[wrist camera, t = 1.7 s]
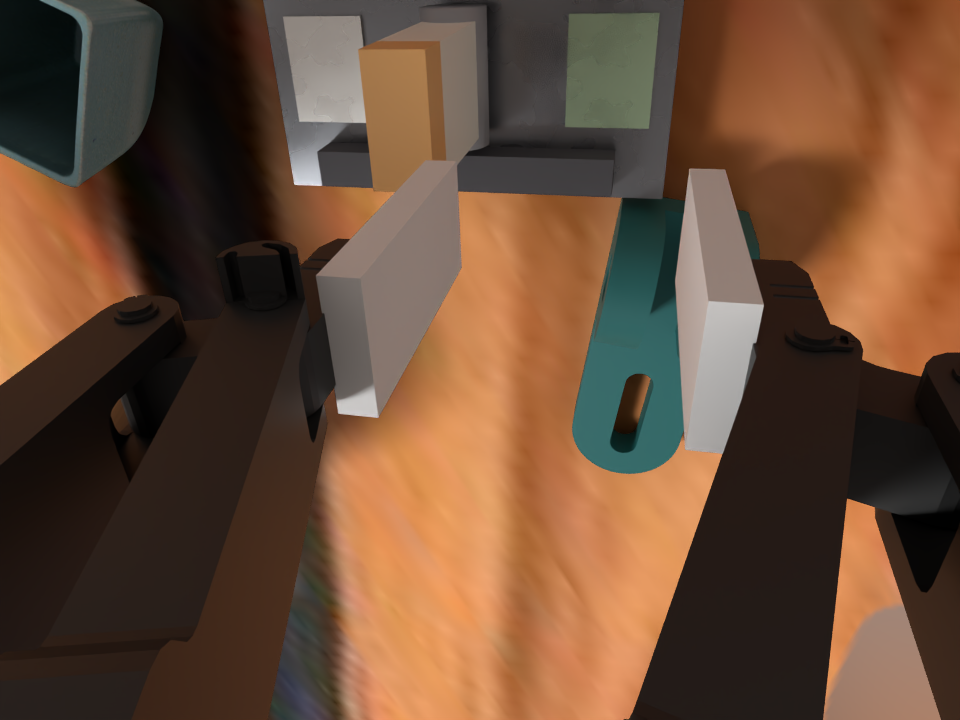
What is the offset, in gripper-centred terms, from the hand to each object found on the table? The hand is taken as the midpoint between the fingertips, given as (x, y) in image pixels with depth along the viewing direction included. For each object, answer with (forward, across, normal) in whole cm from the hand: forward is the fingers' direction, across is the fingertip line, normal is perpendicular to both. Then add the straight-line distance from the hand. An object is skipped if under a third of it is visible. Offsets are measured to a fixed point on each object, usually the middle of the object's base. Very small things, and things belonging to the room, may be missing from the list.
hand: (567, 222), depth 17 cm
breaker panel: (+23, -7, 0) cm, 24 cm away
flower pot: (+23, -28, +1) cm, 36 cm away
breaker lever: (+19, -7, 0) cm, 21 cm away
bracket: (+23, +3, -16) cm, 28 cm away
